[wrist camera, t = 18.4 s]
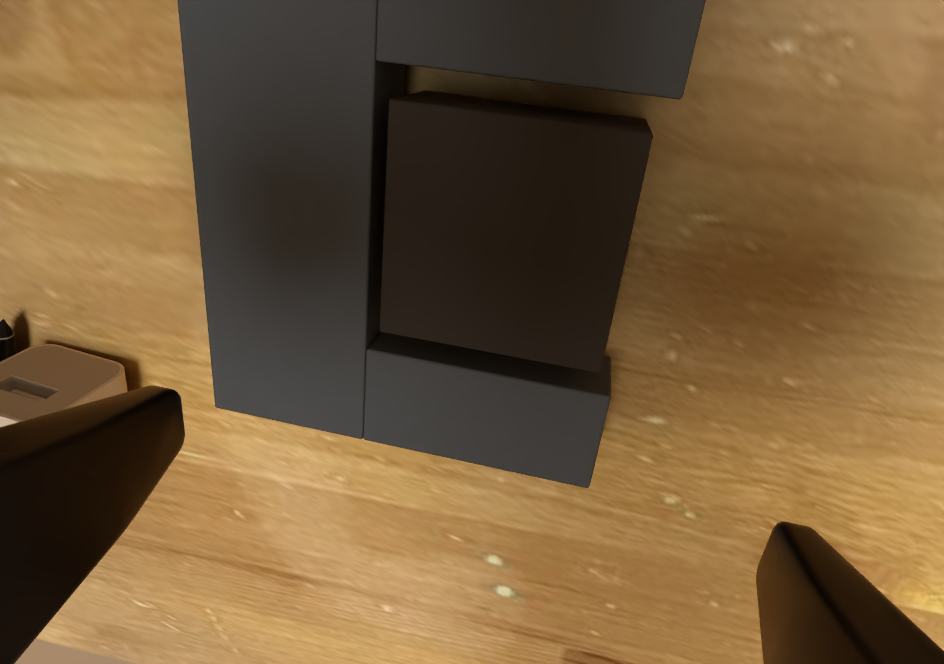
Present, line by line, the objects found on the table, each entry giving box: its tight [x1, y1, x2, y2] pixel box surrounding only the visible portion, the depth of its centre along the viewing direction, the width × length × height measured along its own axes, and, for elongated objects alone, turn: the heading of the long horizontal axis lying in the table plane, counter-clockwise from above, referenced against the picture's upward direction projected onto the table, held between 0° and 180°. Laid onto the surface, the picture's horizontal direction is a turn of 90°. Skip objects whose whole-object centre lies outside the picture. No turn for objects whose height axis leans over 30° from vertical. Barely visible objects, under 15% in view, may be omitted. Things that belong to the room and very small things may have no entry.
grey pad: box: [178, 0, 706, 488], centre depth 17 cm, size 14×12×2 cm
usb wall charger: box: [0, 344, 128, 427], centre depth 23 cm, size 4×7×4 cm, turn 172°
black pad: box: [380, 91, 653, 373], centre depth 16 cm, size 6×6×3 cm
